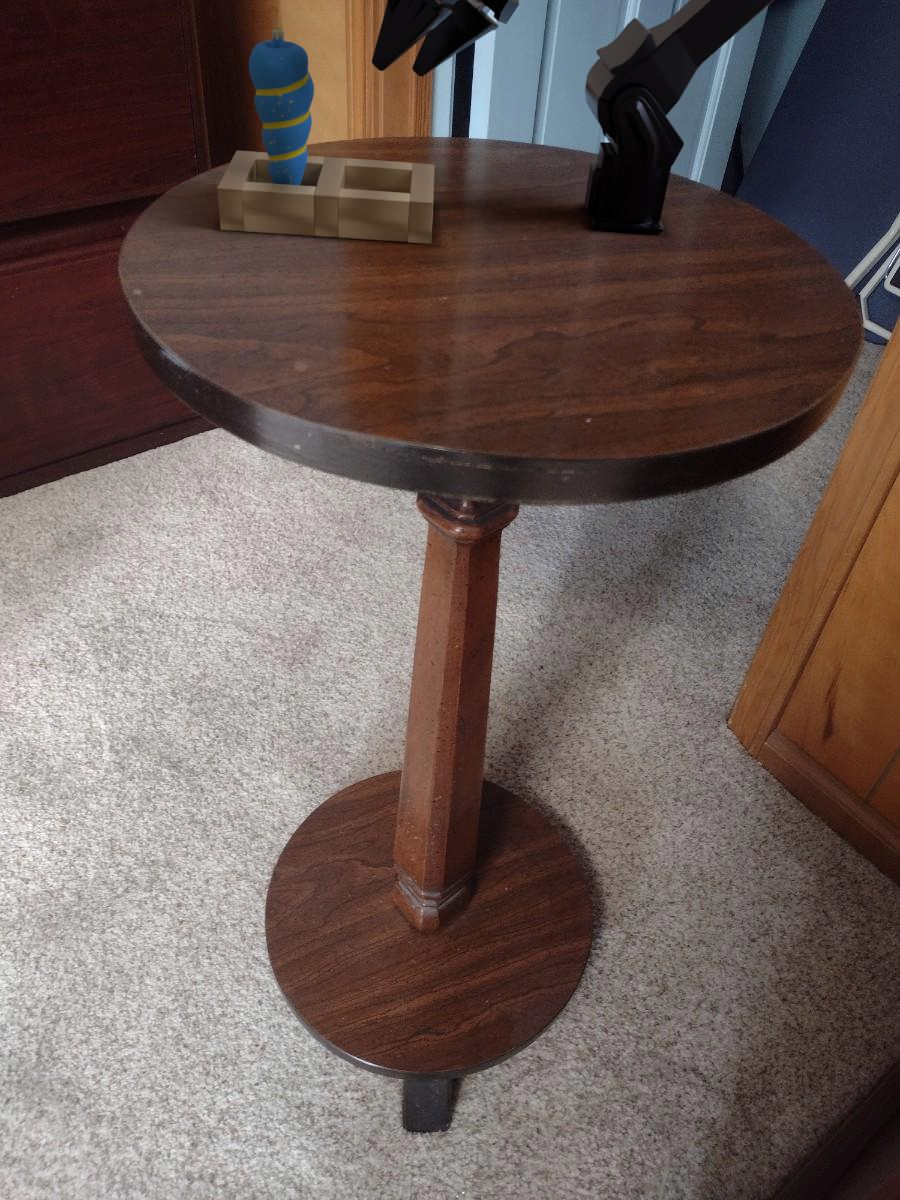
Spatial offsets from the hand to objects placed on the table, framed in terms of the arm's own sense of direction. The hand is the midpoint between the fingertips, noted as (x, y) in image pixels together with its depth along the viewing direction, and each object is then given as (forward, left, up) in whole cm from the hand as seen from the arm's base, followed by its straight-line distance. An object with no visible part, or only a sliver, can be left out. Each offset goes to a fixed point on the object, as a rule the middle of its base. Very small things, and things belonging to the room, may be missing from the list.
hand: (397, 70), depth 81 cm
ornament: (+9, +3, -12) cm, 15 cm away
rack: (+5, +3, -12) cm, 13 cm away
